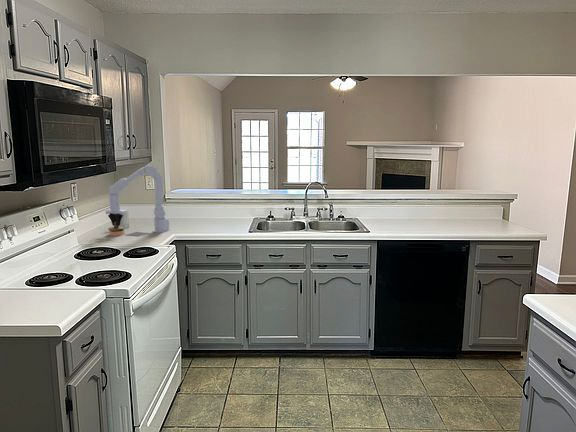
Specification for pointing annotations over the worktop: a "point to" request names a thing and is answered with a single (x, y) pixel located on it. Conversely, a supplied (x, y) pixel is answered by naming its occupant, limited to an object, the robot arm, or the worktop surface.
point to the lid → (115, 227)
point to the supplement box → (124, 220)
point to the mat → (137, 234)
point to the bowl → (116, 232)
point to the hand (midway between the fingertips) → (116, 225)
